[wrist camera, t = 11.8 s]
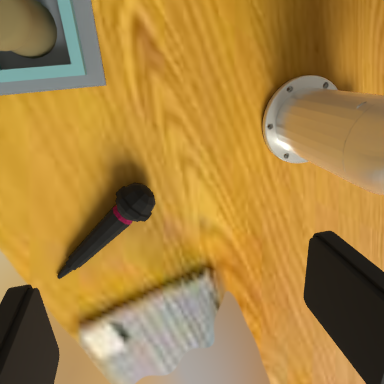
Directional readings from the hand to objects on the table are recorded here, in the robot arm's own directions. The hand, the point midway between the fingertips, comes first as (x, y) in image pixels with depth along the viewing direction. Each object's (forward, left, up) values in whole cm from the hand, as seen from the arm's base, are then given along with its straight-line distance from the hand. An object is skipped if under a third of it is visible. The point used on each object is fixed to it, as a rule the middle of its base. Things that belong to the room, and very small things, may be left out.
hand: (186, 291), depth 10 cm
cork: (+10, -12, -32) cm, 36 cm away
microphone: (+8, +14, -33) cm, 37 cm away
